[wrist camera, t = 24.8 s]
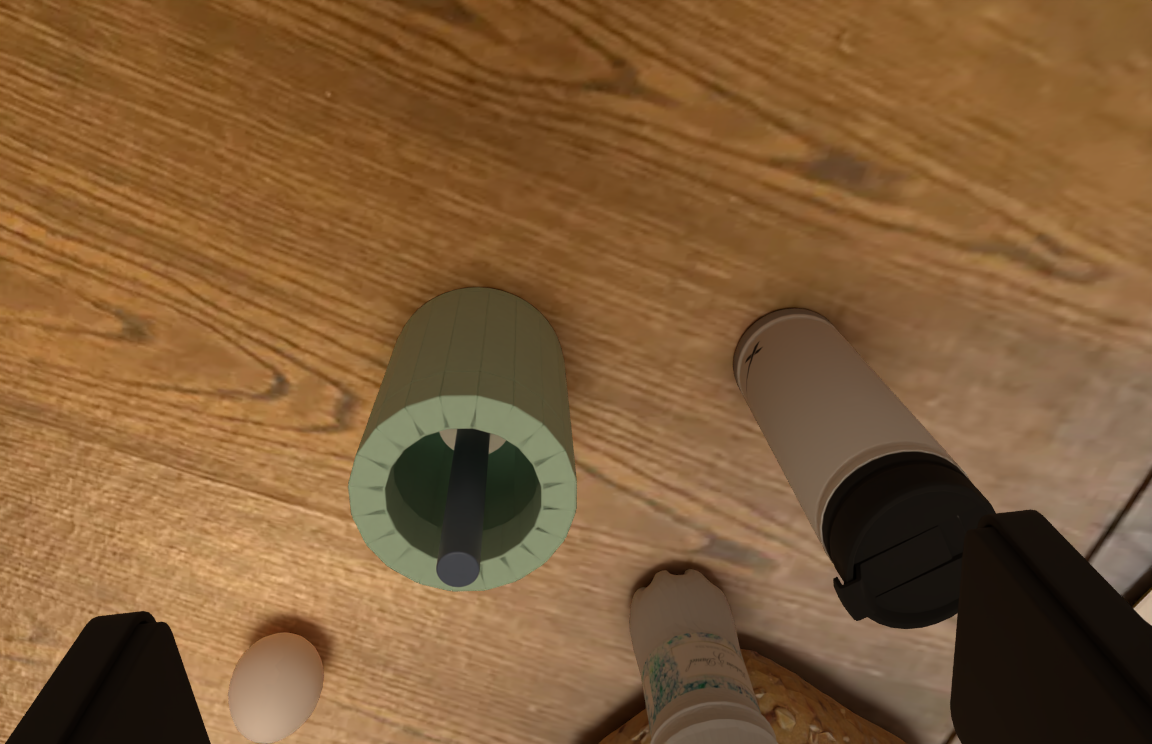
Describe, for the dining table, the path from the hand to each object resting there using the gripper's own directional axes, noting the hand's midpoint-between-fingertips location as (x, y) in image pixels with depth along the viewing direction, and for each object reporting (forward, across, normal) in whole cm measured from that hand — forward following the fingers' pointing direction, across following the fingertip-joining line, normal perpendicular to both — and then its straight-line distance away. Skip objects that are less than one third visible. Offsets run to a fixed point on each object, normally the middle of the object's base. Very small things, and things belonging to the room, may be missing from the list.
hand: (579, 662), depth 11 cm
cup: (+38, +5, +12) cm, 40 cm away
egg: (+38, +19, +29) cm, 52 cm away
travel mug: (+38, -12, +14) cm, 43 cm away
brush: (+38, +5, +12) cm, 40 cm away
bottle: (+38, -5, +29) cm, 49 cm away
